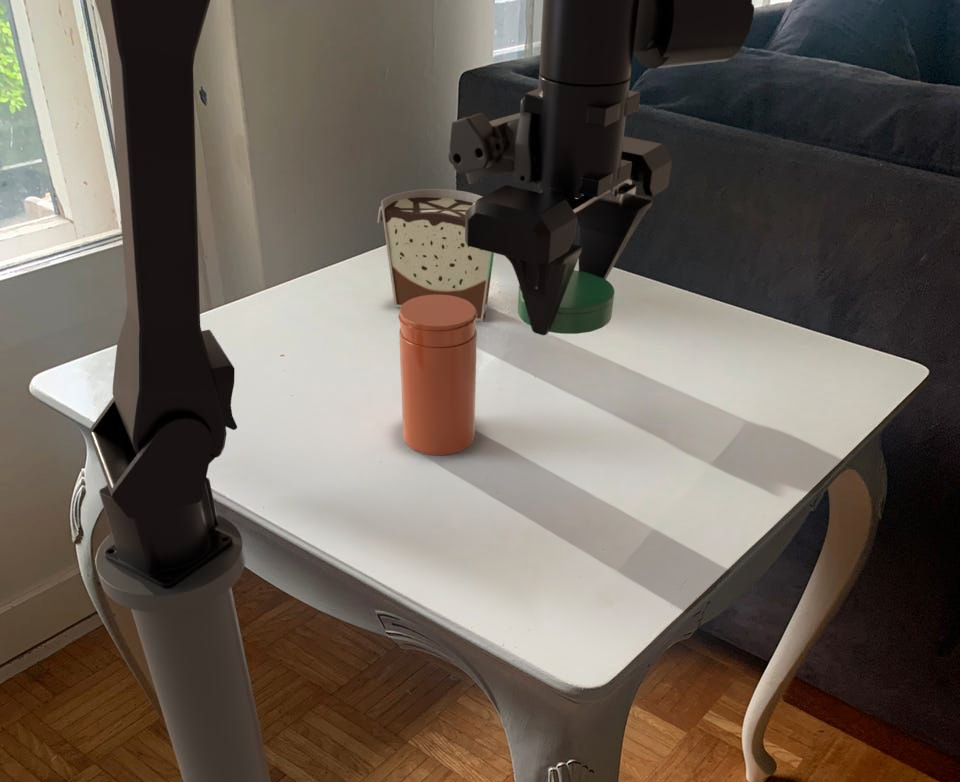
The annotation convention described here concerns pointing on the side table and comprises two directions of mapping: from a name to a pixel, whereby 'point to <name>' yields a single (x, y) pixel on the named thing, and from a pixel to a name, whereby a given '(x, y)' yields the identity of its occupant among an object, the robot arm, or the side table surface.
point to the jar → (438, 373)
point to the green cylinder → (580, 305)
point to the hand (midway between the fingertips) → (564, 315)
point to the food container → (434, 247)
